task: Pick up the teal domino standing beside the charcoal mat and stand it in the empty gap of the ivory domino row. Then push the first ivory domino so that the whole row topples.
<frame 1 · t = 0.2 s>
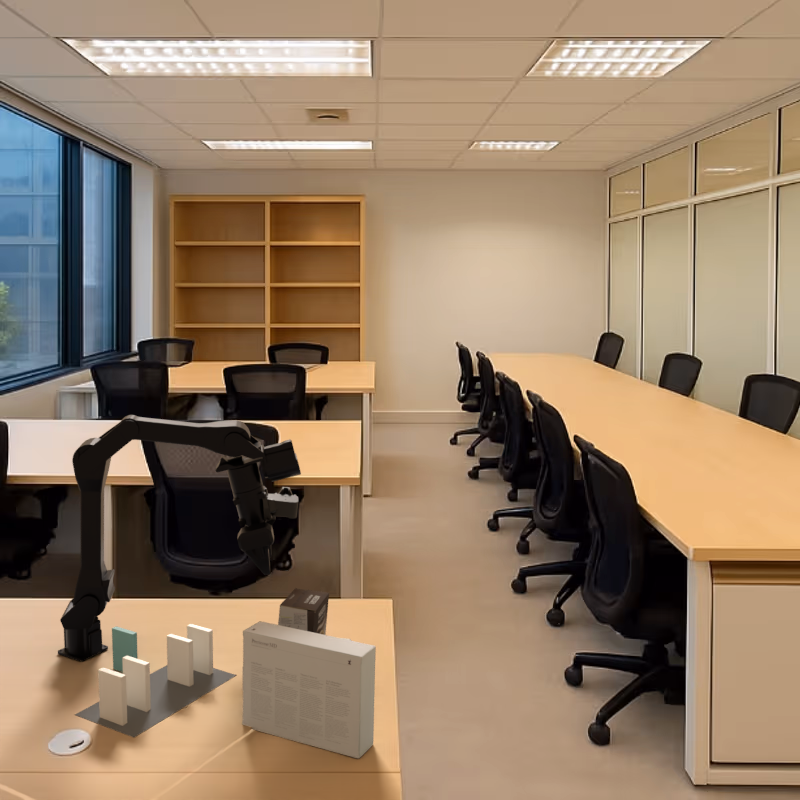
hand: (268, 565, 168), 15 cm above the table, tool pointing down, fingers open, 9 cm apart
hard drive: (322, 660, 165), on the table
teal tile: (125, 673, 156), on the table
domino 2: (180, 681, 153), resting on mat
coffee box: (297, 689, 152), on the table
domino 5: (113, 720, 140), resting on mat
domino 1: (200, 670, 157), resting on mat
skincare box: (307, 736, 138), on the table
domino 4: (137, 706, 144), resting on mat
mat: (159, 696, 149), on the table
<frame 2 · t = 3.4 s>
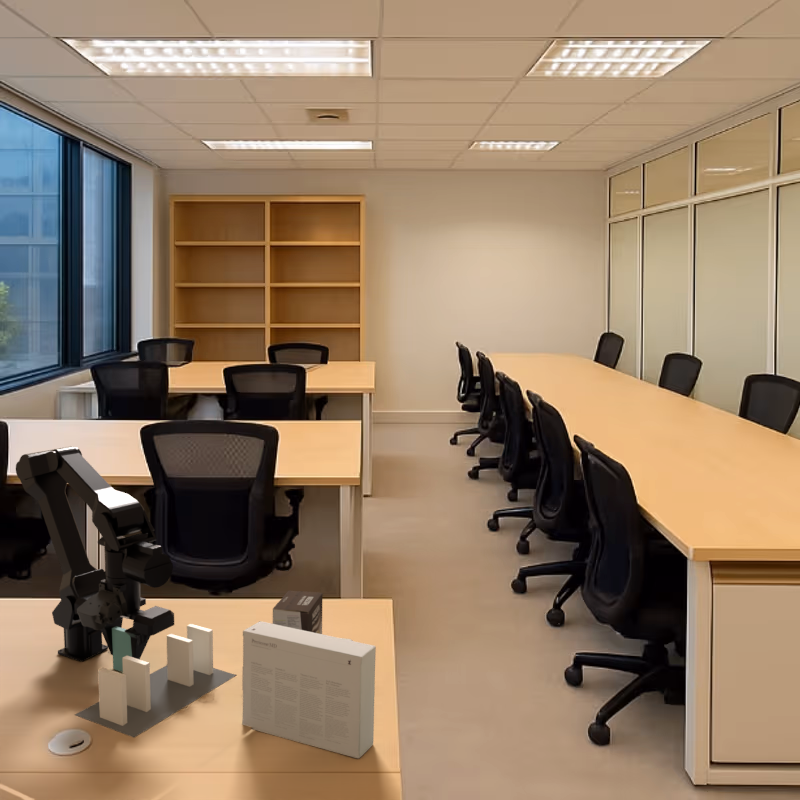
hand: (125, 658, 156), 3 cm above the table, tool pointing down, fingers closed on teal tile, 5 cm apart
teal tile: (125, 673, 156), on the table, touching gripper
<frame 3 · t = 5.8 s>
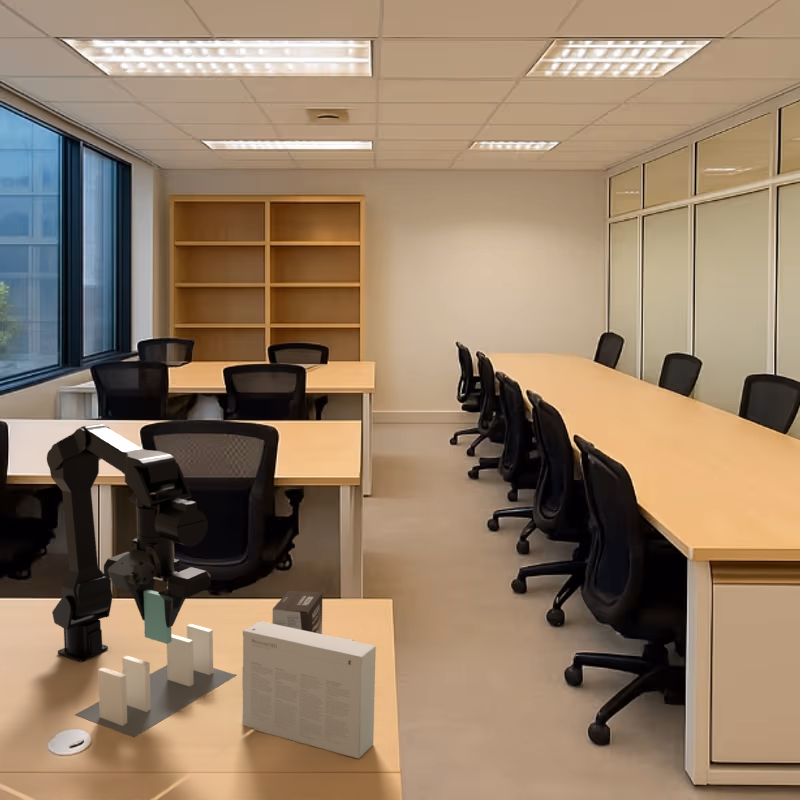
hand: (157, 623, 147), 13 cm above the table, tool pointing down, fingers closed on teal tile, 5 cm apart
teal tile: (158, 639, 147), point 10 cm above the table, touching gripper
everything else where it was.
when the fingers open (4 cm above the table, at t = 8.2 s): teal tile stays where it is, resting on mat.
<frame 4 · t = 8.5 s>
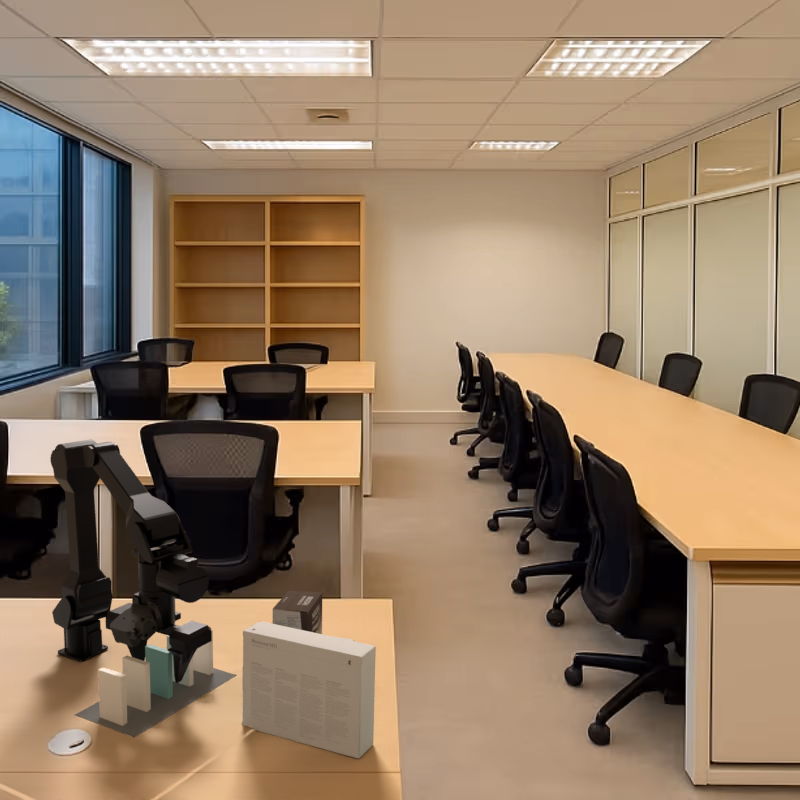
hand: (159, 675, 148), 4 cm above the table, tool pointing down, fingers open, 8 cm apart
teal tile: (159, 693, 149), resting on mat
everything else where it was.
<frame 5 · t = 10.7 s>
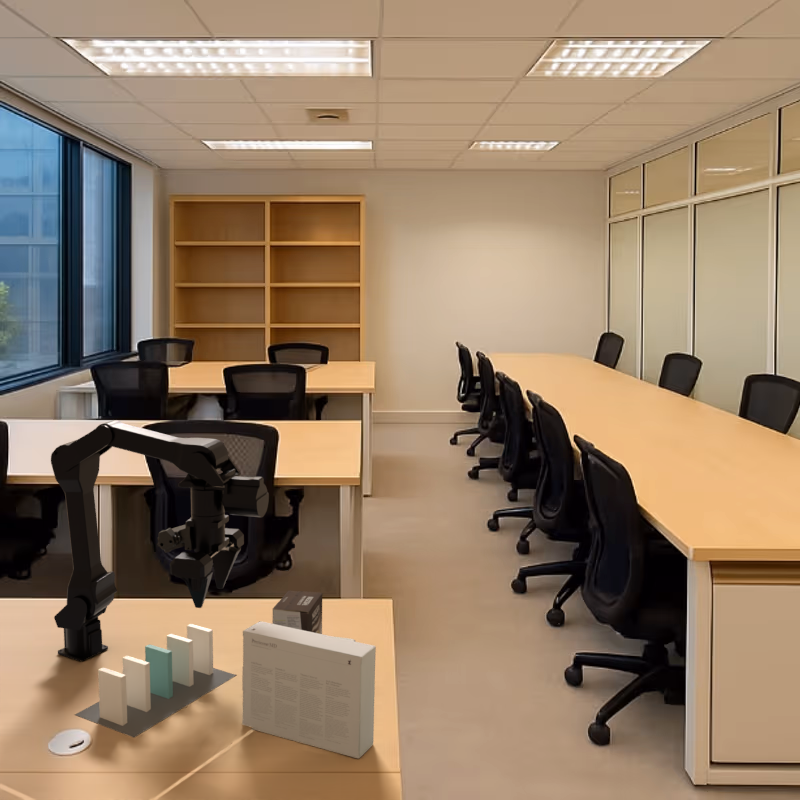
hand: (209, 597, 157), 13 cm above the table, tool pointing down, fingers open, 9 cm apart
nothing on the table moved.
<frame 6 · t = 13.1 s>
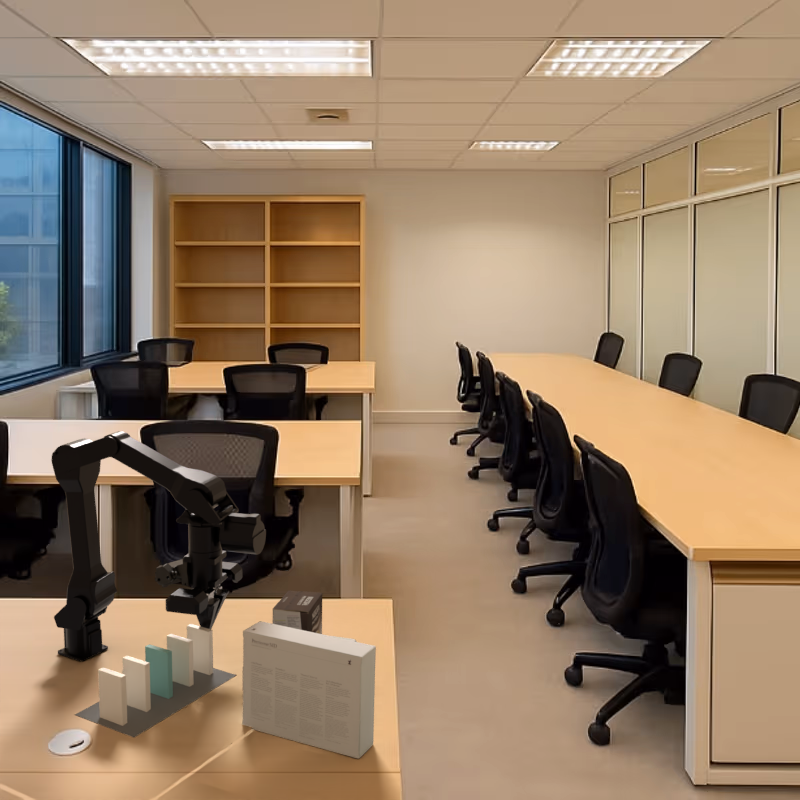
hand: (206, 632, 158), 7 cm above the table, tool pointing down, fingers closed
domino 1: (200, 670, 157), resting on mat, touching gripper
everything else where it was.
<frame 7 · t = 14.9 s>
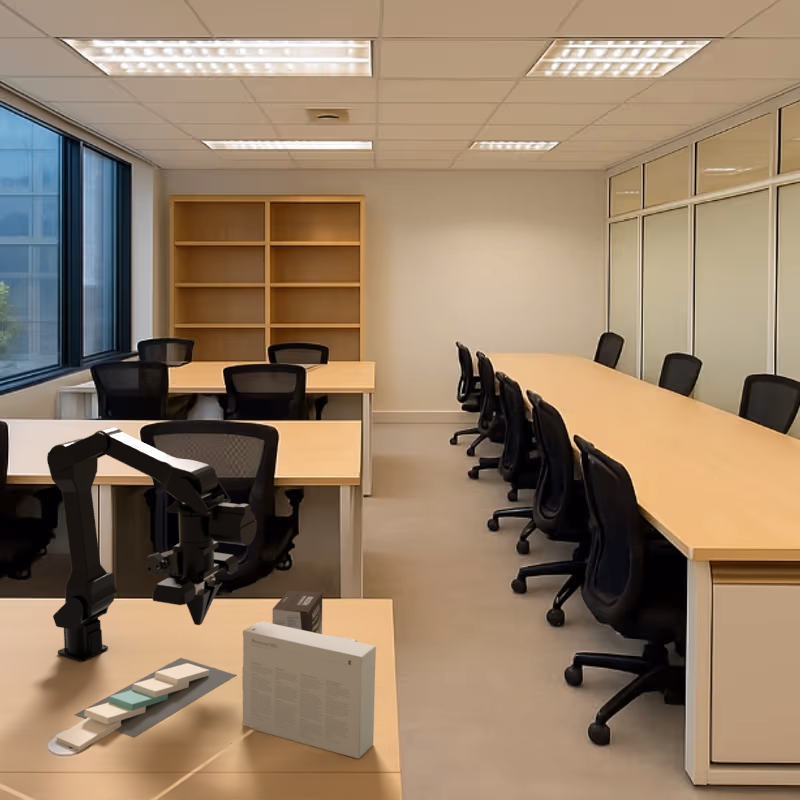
hand: (198, 624, 155), 9 cm above the table, tool pointing down, fingers closed
teal tile: (156, 692, 148), point 1 cm above the table, tilted 78°, touching domino 2, domino 4, mat
domino 2: (177, 680, 152), point 1 cm above the table, tilted 78°, touching domino 1, mat, teal tile
domino 5: (109, 718, 139), point 1 cm above the table, tilted 93°, touching domino 4, mat
domino 1: (197, 669, 156), point 1 cm above the table, tilted 78°, touching domino 2, mat
domino 4: (134, 705, 144), point 1 cm above the table, tilted 78°, touching domino 5, mat, teal tile
everything else where it was.
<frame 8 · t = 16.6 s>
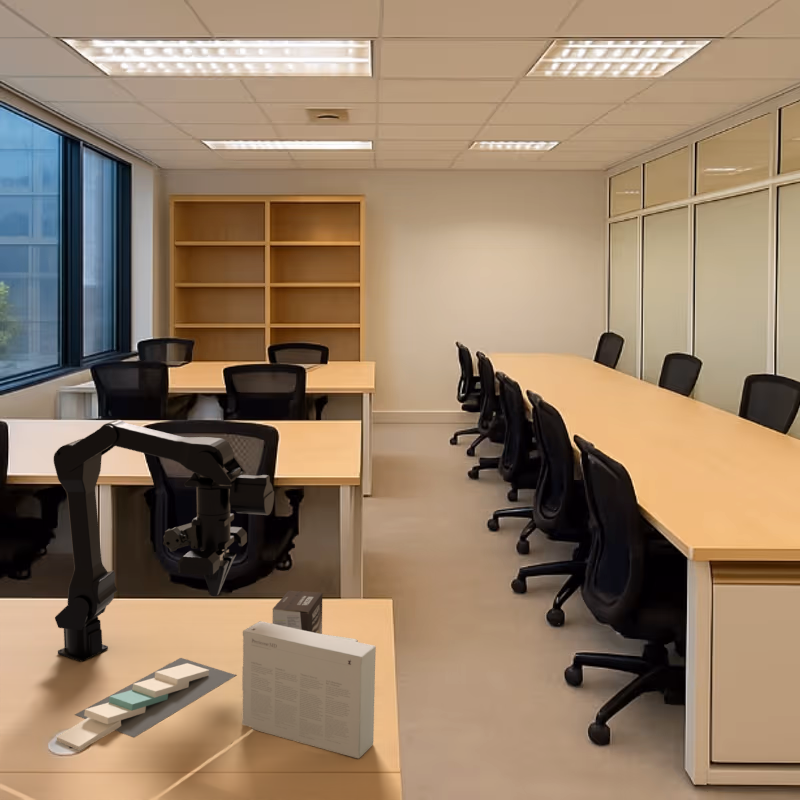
hand: (214, 595, 159), 13 cm above the table, tool pointing down, fingers closed
nothing on the table moved.
at the end: teal tile inside the target area (0.6 cm from its centre), point 0.9 cm above the table; teal tile tilted 78°; domino 5 tilted 93° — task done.
